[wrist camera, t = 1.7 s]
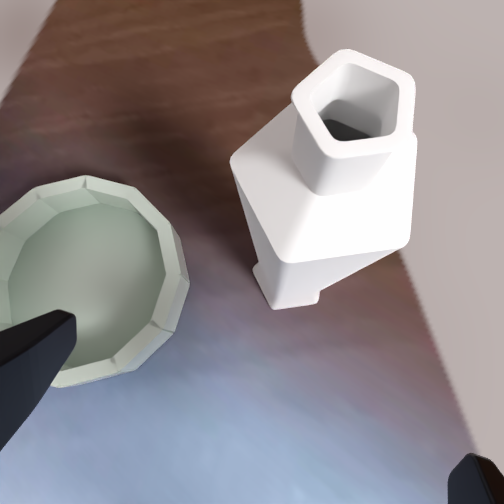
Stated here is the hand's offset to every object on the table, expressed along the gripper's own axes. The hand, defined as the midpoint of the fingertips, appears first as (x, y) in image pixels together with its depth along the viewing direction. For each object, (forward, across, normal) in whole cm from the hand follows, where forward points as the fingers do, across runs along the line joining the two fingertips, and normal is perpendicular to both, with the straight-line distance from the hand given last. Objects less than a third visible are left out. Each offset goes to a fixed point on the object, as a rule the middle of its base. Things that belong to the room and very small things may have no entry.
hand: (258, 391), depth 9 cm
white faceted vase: (+12, 0, +5) cm, 13 cm away
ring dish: (+9, +10, +7) cm, 15 cm away
